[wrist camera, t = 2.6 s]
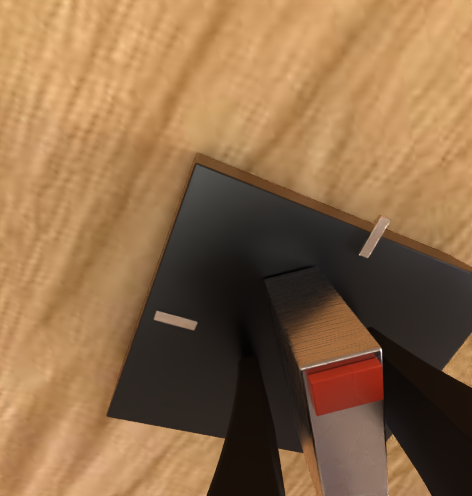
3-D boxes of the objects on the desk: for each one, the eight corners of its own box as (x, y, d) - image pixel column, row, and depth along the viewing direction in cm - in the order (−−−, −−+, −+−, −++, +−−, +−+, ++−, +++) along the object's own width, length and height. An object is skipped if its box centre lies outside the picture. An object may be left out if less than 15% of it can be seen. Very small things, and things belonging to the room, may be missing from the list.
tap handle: (336, 413, 13) (396, 540, 9) (294, 424, 13) (335, 556, 9) (316, 264, 10) (389, 356, 6) (263, 278, 10) (302, 378, 6)
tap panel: (456, 242, 14) (523, 274, 11) (336, 418, 17) (363, 477, 15) (202, 135, 11) (203, 140, 8) (120, 370, 15) (100, 431, 12)
